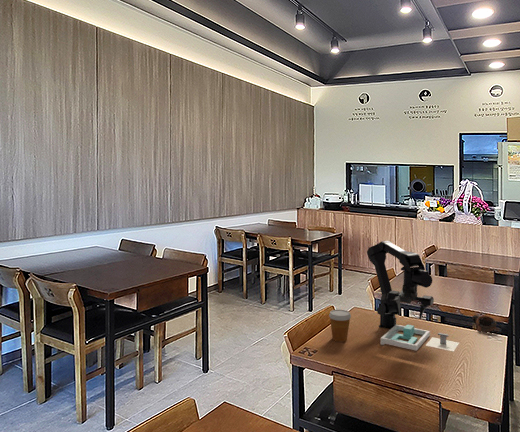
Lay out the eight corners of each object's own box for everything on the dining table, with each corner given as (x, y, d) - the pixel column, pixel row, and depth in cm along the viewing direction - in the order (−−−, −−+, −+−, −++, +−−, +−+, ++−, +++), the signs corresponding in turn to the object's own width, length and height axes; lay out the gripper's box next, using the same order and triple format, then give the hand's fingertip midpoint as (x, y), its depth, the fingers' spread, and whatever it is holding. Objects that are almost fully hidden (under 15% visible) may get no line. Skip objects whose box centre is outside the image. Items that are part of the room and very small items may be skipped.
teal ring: (389, 343, 186) (389, 332, 186) (400, 332, 198) (400, 323, 198) (410, 347, 181) (411, 337, 181) (420, 337, 193) (421, 327, 192)
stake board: (425, 347, 182) (425, 336, 182) (432, 339, 191) (432, 328, 191) (453, 353, 176) (454, 341, 175) (459, 345, 185) (459, 333, 184)
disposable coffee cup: (327, 342, 189) (328, 315, 188) (329, 334, 198) (329, 308, 197) (350, 344, 187) (350, 316, 185) (351, 336, 196) (351, 310, 195)
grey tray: (380, 344, 186) (380, 337, 185) (395, 330, 202) (396, 324, 202) (416, 352, 177) (416, 345, 177) (429, 337, 193) (429, 331, 193)
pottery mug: (501, 332, 200) (501, 320, 196) (488, 344, 197) (487, 332, 193) (478, 319, 210) (477, 307, 205) (464, 330, 207) (464, 318, 202)
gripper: (383, 283, 189) (382, 318, 191) (427, 289, 179) (426, 326, 180) (391, 277, 198) (390, 311, 200) (434, 283, 188) (433, 318, 189)
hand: (409, 316), depth 192 cm, fingers open, 9 cm apart
